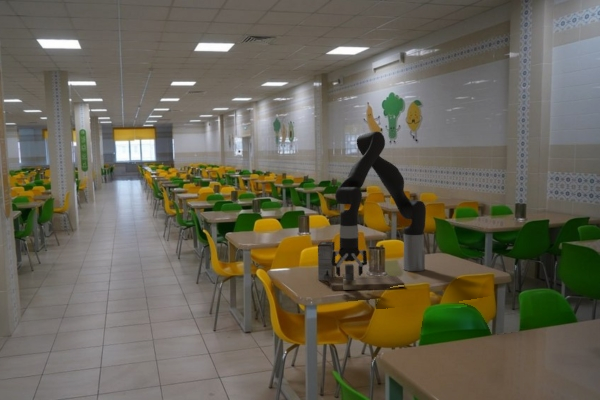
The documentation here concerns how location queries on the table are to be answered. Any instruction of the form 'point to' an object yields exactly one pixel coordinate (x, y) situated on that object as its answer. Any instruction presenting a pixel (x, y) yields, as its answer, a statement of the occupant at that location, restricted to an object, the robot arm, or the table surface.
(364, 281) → the board
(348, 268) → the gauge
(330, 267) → the coffee box
